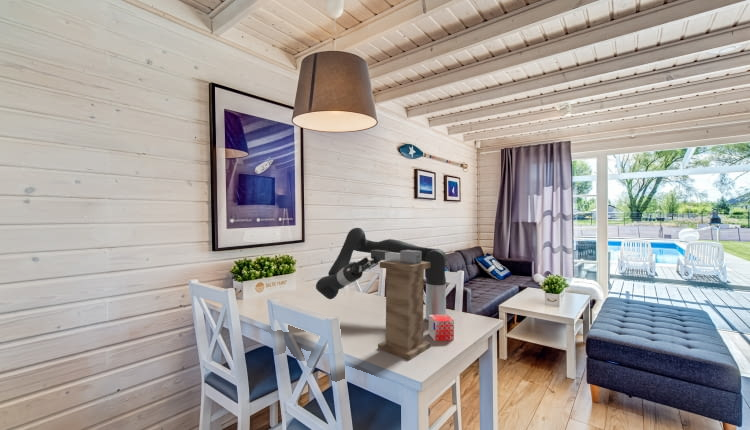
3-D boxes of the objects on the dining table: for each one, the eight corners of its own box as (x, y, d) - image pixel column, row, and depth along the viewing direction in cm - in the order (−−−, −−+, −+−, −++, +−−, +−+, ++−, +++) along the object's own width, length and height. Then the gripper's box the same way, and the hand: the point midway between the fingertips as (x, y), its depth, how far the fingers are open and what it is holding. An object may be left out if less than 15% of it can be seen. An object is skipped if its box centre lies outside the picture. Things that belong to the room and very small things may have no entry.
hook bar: (377, 257, 131) (377, 246, 131) (421, 263, 118) (421, 251, 118) (369, 258, 127) (369, 247, 127) (414, 264, 114) (414, 252, 114)
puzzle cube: (453, 340, 127) (454, 320, 127) (434, 341, 126) (435, 321, 126) (446, 332, 135) (446, 314, 135) (428, 333, 134) (428, 314, 134)
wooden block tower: (399, 337, 129) (400, 258, 129) (430, 347, 120) (431, 262, 120) (377, 348, 118) (378, 262, 118) (409, 359, 109) (410, 266, 109)
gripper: (334, 268, 134) (359, 251, 124) (357, 264, 144) (381, 248, 135) (340, 285, 131) (366, 269, 122) (363, 279, 142) (388, 264, 133)
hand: (374, 258), depth 129 cm, fingers open, 8 cm apart
